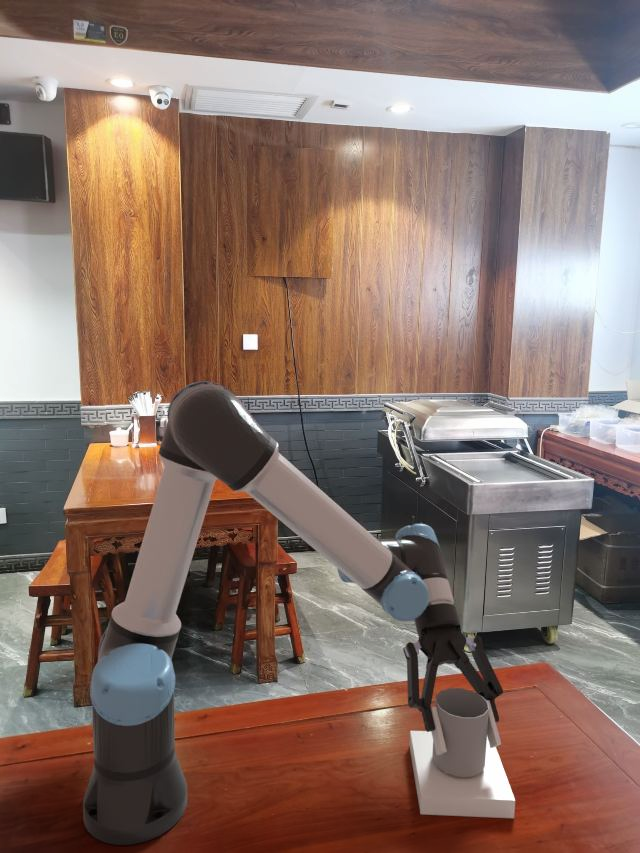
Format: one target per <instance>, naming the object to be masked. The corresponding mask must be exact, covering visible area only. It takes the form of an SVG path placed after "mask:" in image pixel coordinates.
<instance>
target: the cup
mask: <svg viewBox="0 0 640 853" xmlns="http://www.w3.org/2000/svg"><path fill="white" fill-rule="evenodd" d="M434 705H435V706H434V707H437V711H438V716H439V720H440V724H441V728H442V733H443V737H444V741H445V746H446V750H447V752H445V753H443V754H442V755H436V750H435V746H434V741H433V757H432V760H433V761H434V763H435V764H436V766H437V767H438V768H440V769H441V770H443V771H444V772H446V773H447V774H451V775H454V776H458V777H472V776H474V775H477V774H479V773H481V771H482V770H483V768H484V767H485V756H486V742H487V728H488V715H489V706H488V702H487V701H486V700H485V699H484V698H483V696H481V695H479V694H477V693H476V691H473V690H470V689H467V688H460V687H455V688H454V687H451V688H446V689H443V690H440V691H439V692H438V693H437V694H436V696H435V704H434Z"/></svg>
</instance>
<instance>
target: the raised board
mask: <svg viewBox="0 0 640 853" xmlns="http://www.w3.org/2000/svg"><path fill="white" fill-rule="evenodd" d="M409 751H410V756H411V763H412V769H413V774H414V775H413V777H414V782H415V789H416V794H417V802H418V807H419V814H420V815H427V816H428V815H431V816H452V817H453V816H454V817H471V818H472V817H473V818H474V817H476V818H495V819H496V818H497V819H499V818H500V819H515V811H516V810H515V809H516V799H515V795H514V793H513V791H512V788H511V784H510V783H509V782H510V781H509V779H508V777H507V773H506V771H505V769H504V766H503V763H502V759H501V757H500V755H499V751H498V750H497V747H495V748H490V744H489V740H488V737H487V742H486V756H485V767H484V768H483V770H482V771H481V773H479V774H477V775H474V776H472V777H458V776H454V775H451V774H447V773H446V772H444V771H443V770H441V769H440V768H438V767H437V766H436V764H435V763H434V761H433V760H432V757H433V737H432V732H427V731H426V730H409Z"/></svg>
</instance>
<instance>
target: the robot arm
mask: <svg viewBox="0 0 640 853" xmlns="http://www.w3.org/2000/svg"><path fill="white" fill-rule="evenodd" d="M166 418H167V422H166V424H165V426H166V427H165V429H164V431H163V432H164V433H163V435H162V436H163V437H162V439H161V444H160V446H159V450H158V453H157V455H158V457H159V459H160V461H161V462H162V465H163V470H162V472H161V473H162V474H161V477H160V480H159V483H158V487H157V490H156V494H155V498H154V500H153V504H152V507H151V511H150V513H149V514H150V515H149V518H148V522H147V524H146V525H147V526H146V528H145V532H144V535H143V539H142V541H141V542H142V543H141V544H140V548H139V551H138V555H137V559H136V562H135V566H134V568H133V572H132V576H131V579H130V583H129V587H128V590H127V593H126V597H125V599H124V601H123V602H121V603H119V604H118V605H116V606H114V607H113V608H112V611H111V614H110V618H109V621H108V625H107V628H106V629H105V631H104V632H103V635H102V636H101V638H100V641H99V645H98V650H97V651H98V652H97V663H96V664H95V666H94V668H93V670H92V674H91V675H92V676H91V681H90V685H89V686H90V687H89V696H90V700H91V708H92V709H91V710H92V713H91V714H92V735H93V736H92V737H93V739H92V740H93V744H92V745H93V769H92V771H91V775H90V777H89V782H88V784H87V788H86V790H85V793H84V797H83V802H82V813H83V814H82V816H83V817H82V818H83V820H82V821H83V825H84V827H85V829H86V831H87V832H88V833H89V834H90V835H91V836H92V837H93V838H95V839H97V840H98V841H100V842H103V843H106V844H108V845H109V844H110V845H115V846H130V845H136V844H142V843H145V842H148V841H151V840H153V839H155V838H158V837H159V836H162V835H163V834H165V833H166V832H168V831H169V830H171V829H172V827H174V826H175V825H176V824H177V823H178V822H179V821H180V819H181V818H182V816H183V815H184V813H185V811H186V808H187V805H188V784H187V780H186V777H185V774H184V771H183V768H182V767H181V764H180V762H179V759H178V756H177V754H176V740H175V739H176V738H175V737H176V734H175V731H176V730H175V727H176V726H175V725H176V724H175V722H176V721H175V688H176V673H175V670H174V666H173V660H172V659H173V655H174V652H175V648H176V644H177V642H178V638H179V634H180V631H181V628H182V621H181V619H180V618H179V616H178V615H177V610H178V606H179V604H180V601H181V597H182V593H183V590H184V587H185V584H186V580H187V577H188V574H189V571H190V567H191V566H190V565H191V564H192V560H193V557H194V554H195V551H196V550H195V549H196V547H197V543H198V540H199V537H200V534H201V530H202V527H203V523H204V520H205V516H206V513H207V511H208V510H207V509H208V506H209V504H210V500H211V498H212V497H211V496H212V493H213V489H214V486H215V483H216V481H217V480H220V481H221V482H222V483H223V484H225V485H226V486H227V487H228V488H229V489H231V490H232V491H233V492H234V493H240V492H245V493H246V494H247V495H249V496H250V497H251V498H252V499H254V500H255V501H256V502H257V503H258V504H260V505H261V506H262V507H263V508H264V509H266V510H267V511H268V512H270V513H271V514H272V515H273V516H274V517H275V518H277V519H278V520H279V521H280V522H282V523H283V524H284V525H285V526H286V527H288V528H289V529H290V530H291V531H292V532H293V533H294V534H296V535H297V536H298V537H299V538H301V539H302V540H303V541H304V542H305V543H306V544H307V545H309V546H310V547H311V548H313V549H314V551H316V552H317V553H318V554H320V555H321V556H322V557H323V558H324V559H326V560H327V561H328V562H329V563H330V564H332V565H333V566H334V567H335V568H336V569H337V573H338V576H339V578H340V580H341V581H342V582H344V583H348V584H349V583H351V584H352V583H353V584H356V585H357V586H358V587H359V588H361V590H362V591H363V592H364V593H366V594H367V595H368V596H369V597H371V598H372V599H373V600H374V601H376V602H377V603H378V604H379V605H380V606H381V607H382V610H383V611H384V612H385V613H386V614H387V615H389V616H390V617H391V618H393V619H394V620H396V621H400V622H411V621H414V625H415V628H416V632H417V635H418V641H417V642H416V641H415V642H412V641H409V642H407V643H406V645H405V646H404V647H403V648H402V650H403V654H404V657H405V659H406V674H407V675H406V679H407V680H406V681H407V684H406V685H407V704H408V705H407V706H408V707H409V708H411V709H413V708H414V709H418V711H419V712H420V713H421V716H422V720H423V721H422V722H423V725H424V729H425V731H427V732H432V737H433V741H434V746H435V750H436V755H442V754H443V753H445V752H447V750H446V746H445V741H444V737H443V733H442V728H441V724H440V720H439V716H438V711H437V707H435V706H432V707H431V705H432V700H433V695H434V688H435V685H436V680H437V675H438V674H437V673H438V668H439V667H440V666H442V665H445V664H447V665H452V664H453V665H454V666H455V667H456V669H459V671H460V672H461V673H462V675H463V676H464V678H465V679H466V680H467V682H468V683H469V685H470V686H471V687H472V689H473V690H474V692H475V693H477V694H479V695H481V696H483V698H484V699H485V700H486V701H487V702H488V706H489V715H488V728H487V737H488V740H489V744H490V748H495V747H496V748H497V747H498V746H500V745H502V741H501V736H500V734H499V729H498V726H497V723H498V722H500V716H499V713H498V709H497V705H496V702H495V701H496V698H498V697H500V696H501V695H502V694H504V690H503V687H502V685H501V682H500V681H499V679H498V676H497V675H496V673H495V671H494V668H493V666H492V665H491V663H490V659H489V658H488V656H487V653H486V652H485V650H484V644H483V638H482V636H480V635H476V636H474V637H467V636H466V635H465V634H464V633H463V631H462V628H461V623H460V619H459V614H458V611H457V608H456V606H455V605H454V604H455V603H454V602H455V600H454V597H453V592H452V589H451V586H450V583H449V580H448V576H447V571H446V568H445V564H444V559H443V556H442V553H441V546H440V544H439V541H438V538H437V535H436V532H435V530H434V529H433V528H432V526H429V525H428V524H425V523H414V524H412V525H406V526H404V527H401V528H400V529H399V530H398V531H397V532H396V533H395V538H376V537H375V536H374V535H372V533H370V532H369V531H368V530H367V529H366V528H365V527H364V526H362V525H361V524H360V523H359V522H358V521H356V519H354V517H353V516H351V515H350V514H349V513H348V512H346V510H344V509H343V508H342V507H341V506H340V505H339V504H338V503H336V502H335V501H334V499H332V498H331V497H329V495H328V494H326V493H325V492H324V491H323V490H322V489H320V487H319V486H318V485H316V484H315V483H314V482H313V481H311V480H310V479H309V478H308V477H307V476H306V475H305V474H304V473H303V472H301V470H299V469H298V468H297V467H295V466H294V464H293V463H291V462H290V461H289V460H288V459H287V458H286V457H285V456H283V455H282V454H281V453H280V452H279V443H278V441H277V440H275V439H274V438H273V437H272V436H271V435H270V434H268V432H267V431H265V429H264V428H263V427H262V426H261V425H260V423H258V421H257V420H256V419H255V418H254V417H253V415H252V414H251V412H250V411H249V410H248V409H247V407H246V406H245V405H244V403H243V402H242V401H241V400H240V399H239V398H238V397H237V396H236V395H234V393H233V392H232V391H231V390H229V389H228V388H227V387H226V386H223V385H220V384H219V383H216V382H212V381H197V382H193V383H190V384H188V385H185V386H184V387H183V388H181V389H180V390H179V391H178V392H176V394H175V395H174V396H173V397H172V399H171V401H170V403H169V405H168V409H167V417H166ZM465 647H467V649H468V651H470V652H471V655H472V658H473V660H474V662H475V665H476V666H477V669H478V671H479V672H478V671H477V669H476V668H475V666H474V665H473V663H472V662H471V661H470V658H469V657H470V656H468V655H467V654H466V652H465V651H464V650H465ZM420 651H421V652H422V653H423V655H425V657H426V659H427V660H426V667H425V674H424V679H423V684H422V691H421V695H420V678H419V677H420V675H419V674H420V673H419V656H418V655H420Z"/></svg>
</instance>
